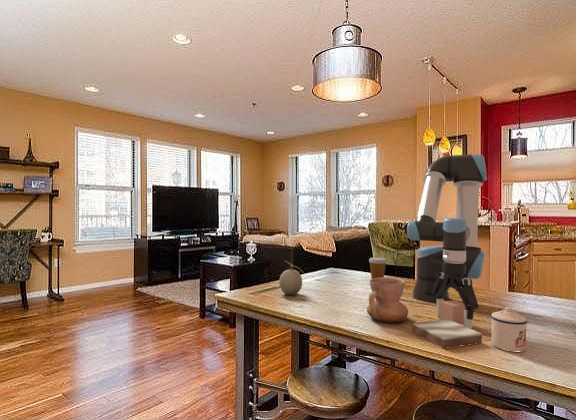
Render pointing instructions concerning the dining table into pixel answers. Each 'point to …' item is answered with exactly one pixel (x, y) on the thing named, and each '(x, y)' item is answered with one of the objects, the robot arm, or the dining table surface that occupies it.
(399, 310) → the ceramic jug
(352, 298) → the dining table surface
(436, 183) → the robot arm
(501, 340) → the teacup with lid
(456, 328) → the plinth
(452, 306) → the block
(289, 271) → the fruit
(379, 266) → the disposable coffee cup
